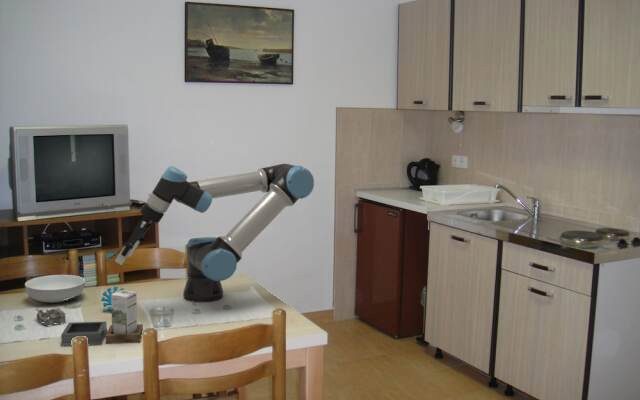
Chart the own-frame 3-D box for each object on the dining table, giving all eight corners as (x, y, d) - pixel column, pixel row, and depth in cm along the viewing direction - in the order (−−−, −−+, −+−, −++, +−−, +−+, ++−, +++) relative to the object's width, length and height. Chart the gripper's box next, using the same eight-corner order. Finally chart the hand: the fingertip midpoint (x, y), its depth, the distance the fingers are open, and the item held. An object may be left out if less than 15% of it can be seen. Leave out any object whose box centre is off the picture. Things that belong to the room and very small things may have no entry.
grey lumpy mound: (34, 319, 223) (34, 308, 222) (57, 315, 228) (57, 304, 227) (44, 328, 215) (44, 315, 214) (68, 323, 219) (67, 311, 219)
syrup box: (138, 335, 209) (137, 291, 207) (127, 341, 203) (126, 295, 201) (122, 333, 210) (121, 289, 209) (111, 339, 205) (110, 293, 203)
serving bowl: (25, 310, 232) (24, 291, 231) (25, 294, 251) (25, 277, 250) (87, 304, 240) (87, 286, 240) (83, 289, 259) (83, 272, 259)
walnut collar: (142, 331, 213) (142, 323, 212) (139, 342, 203) (139, 334, 203) (110, 332, 211) (110, 325, 211) (105, 343, 201) (105, 335, 201)
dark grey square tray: (107, 331, 212) (107, 321, 211) (101, 344, 200) (101, 333, 200) (68, 333, 210) (68, 322, 209) (60, 346, 198) (60, 334, 198)
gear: (102, 310, 229) (101, 285, 234) (99, 318, 233) (98, 293, 239) (134, 310, 234) (133, 286, 239) (130, 318, 238) (129, 294, 243)
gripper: (152, 197, 240) (121, 246, 241) (138, 206, 215) (104, 260, 217) (170, 208, 241) (139, 257, 242) (158, 219, 216) (124, 272, 218)
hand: (122, 258), depth 230 cm, fingers open, 13 cm apart
